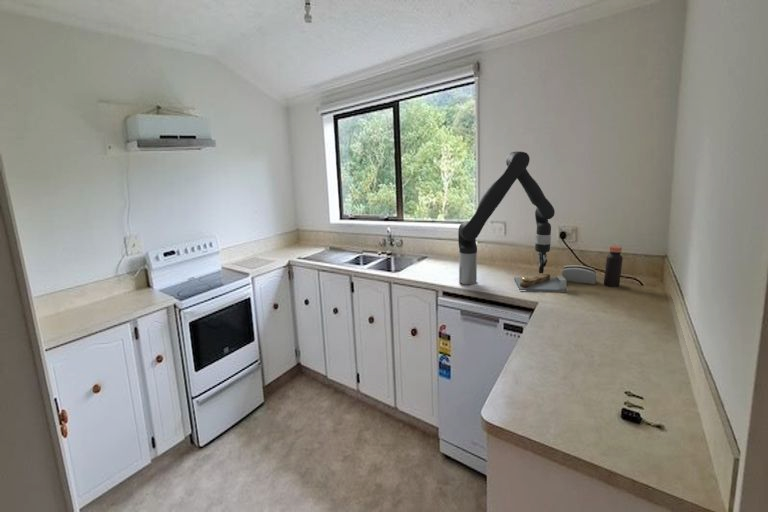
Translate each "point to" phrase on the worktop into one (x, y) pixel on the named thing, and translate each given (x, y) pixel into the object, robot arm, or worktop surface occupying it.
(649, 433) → the worktop surface
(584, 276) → the grey napkin holder
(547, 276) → the link
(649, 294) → the worktop surface
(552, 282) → the board
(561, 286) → the keeper
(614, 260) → the bottle
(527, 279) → the pintle
